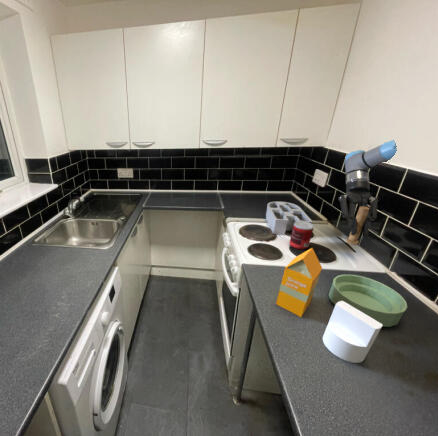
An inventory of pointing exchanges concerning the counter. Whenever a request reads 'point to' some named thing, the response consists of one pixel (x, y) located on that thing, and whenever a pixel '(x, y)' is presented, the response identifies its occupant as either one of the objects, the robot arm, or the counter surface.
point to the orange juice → (299, 282)
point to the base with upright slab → (350, 333)
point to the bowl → (369, 298)
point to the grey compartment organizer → (284, 216)
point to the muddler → (358, 225)
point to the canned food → (301, 235)
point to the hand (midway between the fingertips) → (359, 234)
